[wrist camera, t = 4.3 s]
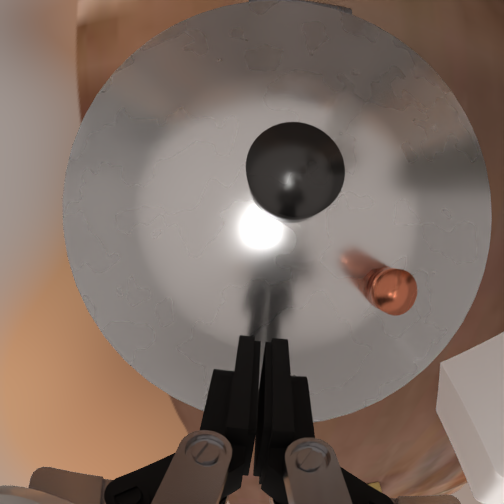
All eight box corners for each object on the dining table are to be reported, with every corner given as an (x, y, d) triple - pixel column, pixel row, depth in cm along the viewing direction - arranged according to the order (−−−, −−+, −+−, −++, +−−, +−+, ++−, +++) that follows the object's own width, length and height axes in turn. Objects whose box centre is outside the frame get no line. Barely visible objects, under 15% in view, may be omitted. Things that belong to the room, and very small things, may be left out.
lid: (458, 52, 11) (482, 27, 8) (446, 407, 12) (475, 433, 9) (127, 13, 12) (109, -19, 9) (69, 372, 12) (34, 394, 9)
